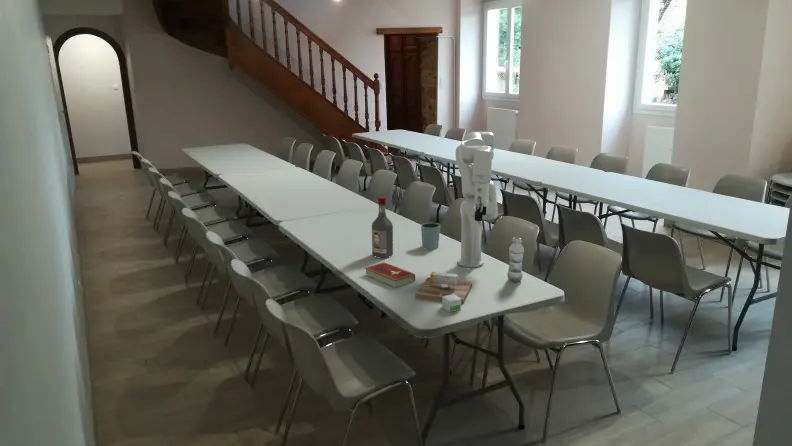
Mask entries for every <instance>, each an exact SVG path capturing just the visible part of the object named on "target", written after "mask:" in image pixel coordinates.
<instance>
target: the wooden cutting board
mask: <svg viewBox="0 0 792 446" xmlns="http://www.w3.org/2000/svg"><path fill="white" fill-rule="evenodd" d="M472 287H473V281H465V280H458V279H457V285H456V286H454V285H450V288H449V289H441V288H440V284H430V277H429V276H427V277H426V279H425V280H424V282H423V283H422V285H420V287H419V289H418V290H417V292H416V293H415V299H418V300H419V299H420V300H427V301H428V300H429V301H436V302H442V297H443V296H447V295H452V294H455V295H456V296H458V297H459V298H461V305H464V304H465V302H466V299H467V297H468V296H469V293H470V292H471V289H472Z"/></svg>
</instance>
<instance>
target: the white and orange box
mask: <svg viewBox="0 0 792 446" xmlns="http://www.w3.org/2000/svg"><path fill="white" fill-rule="evenodd" d="M457 280H458V274H457V273H449V272H447V273H446V272H435V271H431V273H430V284H440V288H441V289H449V288H450V285H454V286H456V285H457Z"/></svg>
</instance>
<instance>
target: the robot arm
mask: <svg viewBox="0 0 792 446" xmlns="http://www.w3.org/2000/svg"><path fill="white" fill-rule="evenodd" d="M495 146H496V137H495V135H494V133H493V132H490V131H471V132H468V133H467V134H465V136H464V138H463V141H462V142H461V143H460V145H458V146H457V147H456V149H455V161H456V164H457V168H458V170H459V172H460V176H461V190H462V197H463V198H464V199H465V200H464V201H462V202H461V203H460V207H459V209H460V219H461V237H460V238H461V239H460V241H461V242H460V244H461V245H460V258H458V259H457V264H458V265H459V266H461V267H464V268H478V267H479V268H480V267H482V266H483V265H484V264H485V261H484V260H483V259H482V257H481V256H482V232H483V231H482V226H481V225H480V223H478V222H483V221H487V220H488V221H491V220H495V219H497V217H498V214H499V213H498V212H499V210H498V209H499V208H498V199H497V198H498V196H497V189H496V184H495V182H494V181H493V180H492V163H493V162H492V161H493V160H494V156H495V154H494V151H495V148H496V147H495Z"/></svg>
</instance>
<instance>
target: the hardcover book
mask: <svg viewBox="0 0 792 446" xmlns="http://www.w3.org/2000/svg"><path fill="white" fill-rule="evenodd" d="M364 270H365V275H366V274H367V275H369V276H368V277H370V276H371V277H370V278H372V277H374V278H376V279H375V280H377V279H378V280H377V281H379V280H380V282H382V281H383V283H384V282H385V283H384V284H386V283H387V284H386V285H390V286H391V285H392V287H393V288H397V287H399V286H403V285H406V284H409V283H411V282H415V281H416V274H415V273H414V272H410V271H409V270H406V269H402V268H401V267H397V266H395V265H392V264H390V263H387V262H384V261H383V262H379V263H376V264H374V265H370V266H367V267H364ZM367 275H366V276H367ZM374 278H373V279H374Z"/></svg>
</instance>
